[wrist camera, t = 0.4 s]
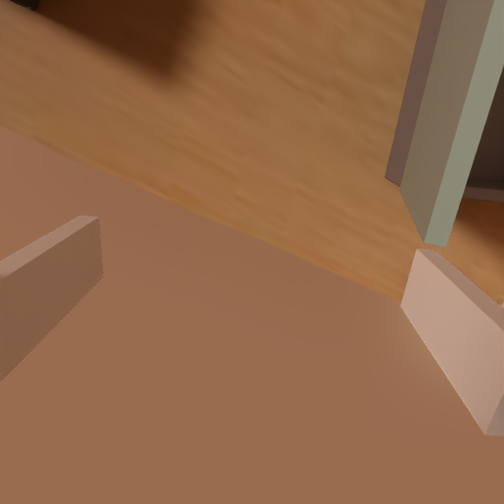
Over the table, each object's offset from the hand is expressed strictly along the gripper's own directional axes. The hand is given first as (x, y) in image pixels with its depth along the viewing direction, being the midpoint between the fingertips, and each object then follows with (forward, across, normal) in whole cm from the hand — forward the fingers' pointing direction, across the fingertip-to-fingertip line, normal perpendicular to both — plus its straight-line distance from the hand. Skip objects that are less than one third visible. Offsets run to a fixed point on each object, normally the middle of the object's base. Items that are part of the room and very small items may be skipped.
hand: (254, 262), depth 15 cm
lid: (+11, +11, +10) cm, 19 cm away
